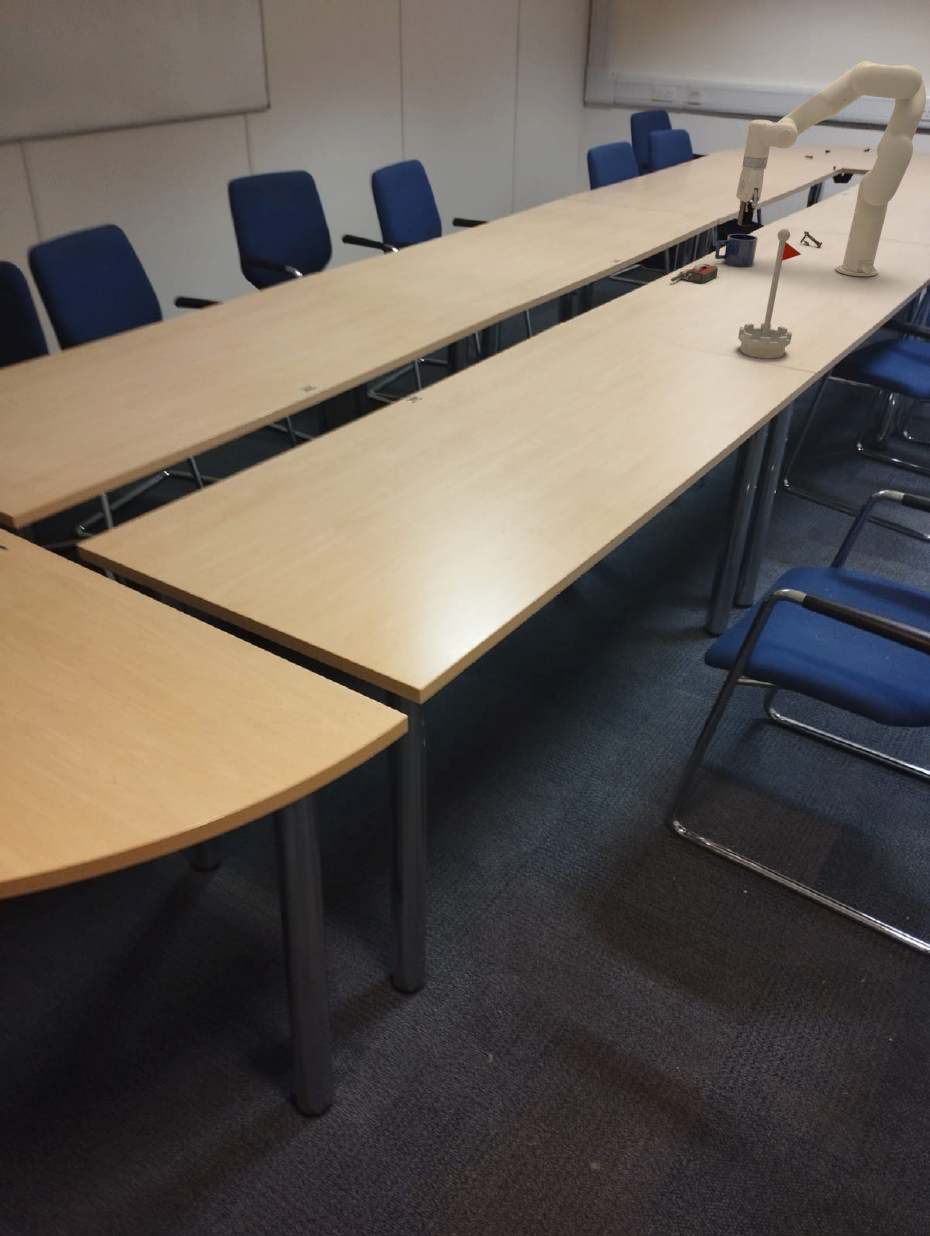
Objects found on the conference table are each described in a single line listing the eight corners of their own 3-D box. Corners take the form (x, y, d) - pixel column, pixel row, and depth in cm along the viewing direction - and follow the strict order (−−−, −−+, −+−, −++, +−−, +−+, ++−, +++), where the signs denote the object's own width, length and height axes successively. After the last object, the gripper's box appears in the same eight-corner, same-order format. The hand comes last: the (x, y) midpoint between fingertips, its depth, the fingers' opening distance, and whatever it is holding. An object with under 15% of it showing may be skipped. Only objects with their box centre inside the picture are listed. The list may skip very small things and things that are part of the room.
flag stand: (727, 352, 250) (748, 229, 234) (748, 340, 259) (770, 220, 243) (775, 363, 244) (800, 237, 227) (796, 350, 252) (821, 228, 236)
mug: (747, 259, 335) (751, 233, 330) (757, 266, 327) (762, 240, 322) (709, 260, 334) (713, 233, 329) (718, 267, 325) (722, 240, 321)
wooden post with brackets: (799, 240, 358) (806, 229, 354) (816, 253, 355) (823, 242, 352) (797, 240, 357) (804, 229, 353) (813, 253, 354) (820, 242, 351)
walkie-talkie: (694, 271, 320) (667, 284, 306) (696, 257, 317) (669, 269, 303) (719, 276, 315) (693, 288, 302) (721, 261, 313) (695, 274, 299)
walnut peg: (750, 226, 322) (754, 203, 318) (740, 226, 322) (744, 203, 318) (747, 223, 325) (751, 201, 321) (737, 223, 325) (741, 201, 321)
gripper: (735, 158, 320) (725, 218, 330) (752, 167, 306) (742, 228, 316) (757, 159, 320) (746, 218, 331) (775, 167, 307) (764, 228, 317)
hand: (744, 222), depth 323 cm, fingers closed on walnut peg, 3 cm apart
